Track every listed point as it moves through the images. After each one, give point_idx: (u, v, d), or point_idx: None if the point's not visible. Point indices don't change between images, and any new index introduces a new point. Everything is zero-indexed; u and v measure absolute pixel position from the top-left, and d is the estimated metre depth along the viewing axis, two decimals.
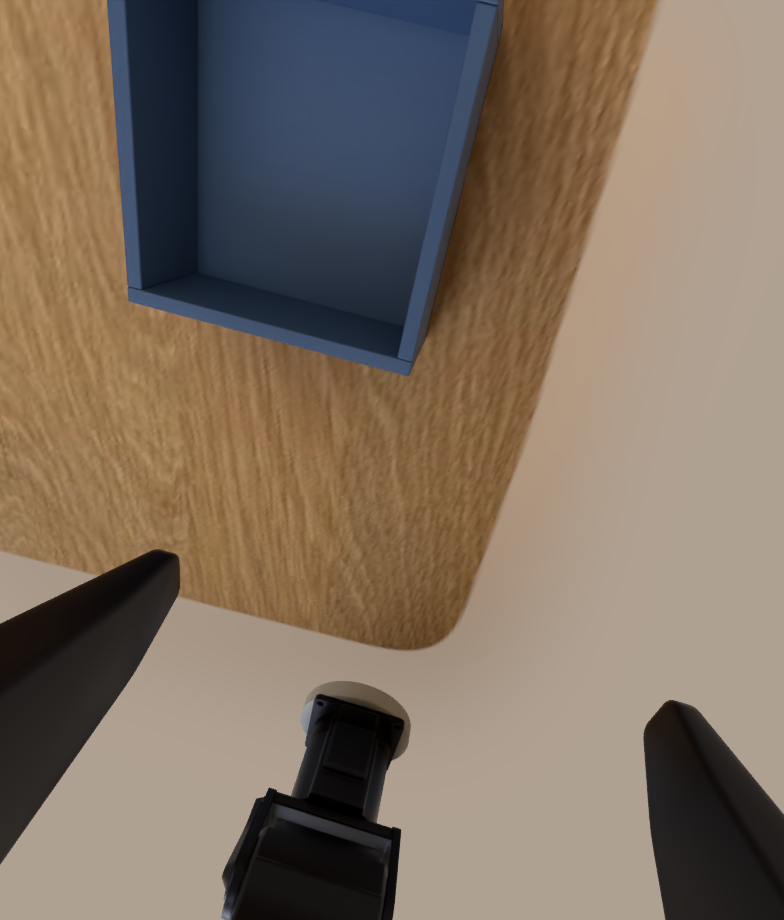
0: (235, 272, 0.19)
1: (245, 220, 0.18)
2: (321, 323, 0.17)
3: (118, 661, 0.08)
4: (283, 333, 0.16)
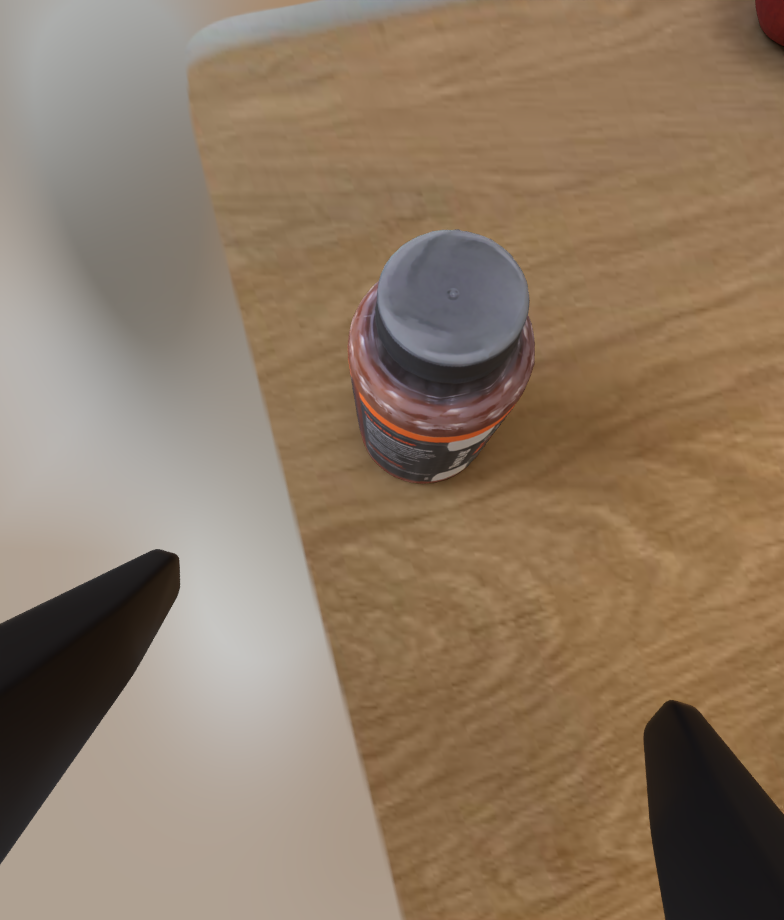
0: None
1: None
2: None
3: (118, 661, 0.08)
4: None
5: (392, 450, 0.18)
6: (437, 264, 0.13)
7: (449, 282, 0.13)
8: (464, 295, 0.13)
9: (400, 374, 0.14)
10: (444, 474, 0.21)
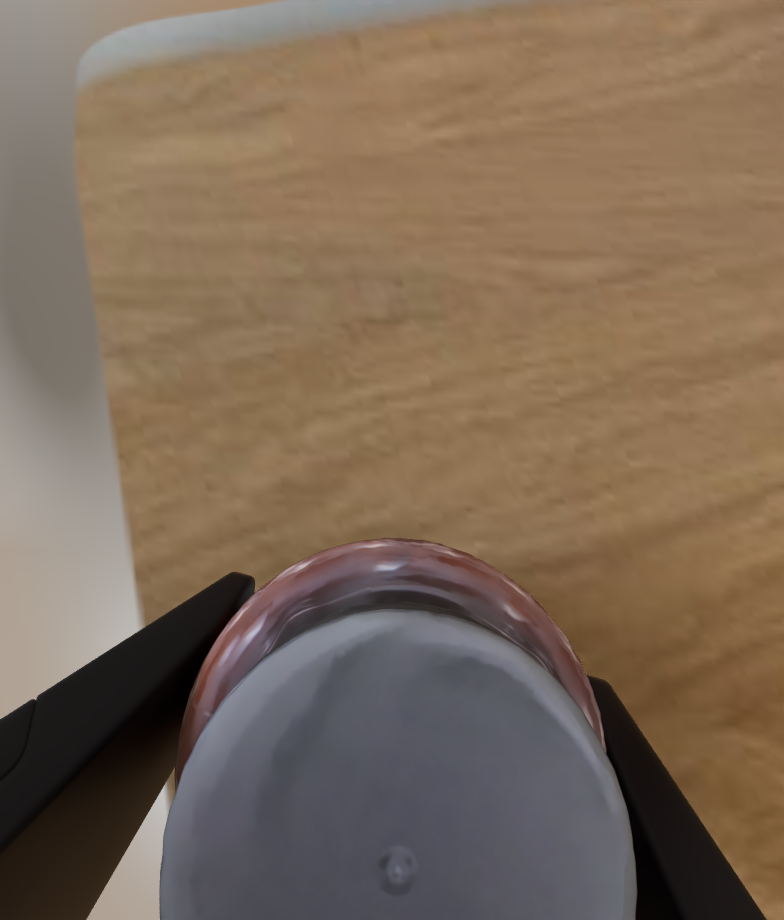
0: None
1: None
2: None
3: None
4: None
5: None
6: (354, 750, 0.04)
7: (388, 825, 0.04)
8: (431, 877, 0.04)
9: None
10: None
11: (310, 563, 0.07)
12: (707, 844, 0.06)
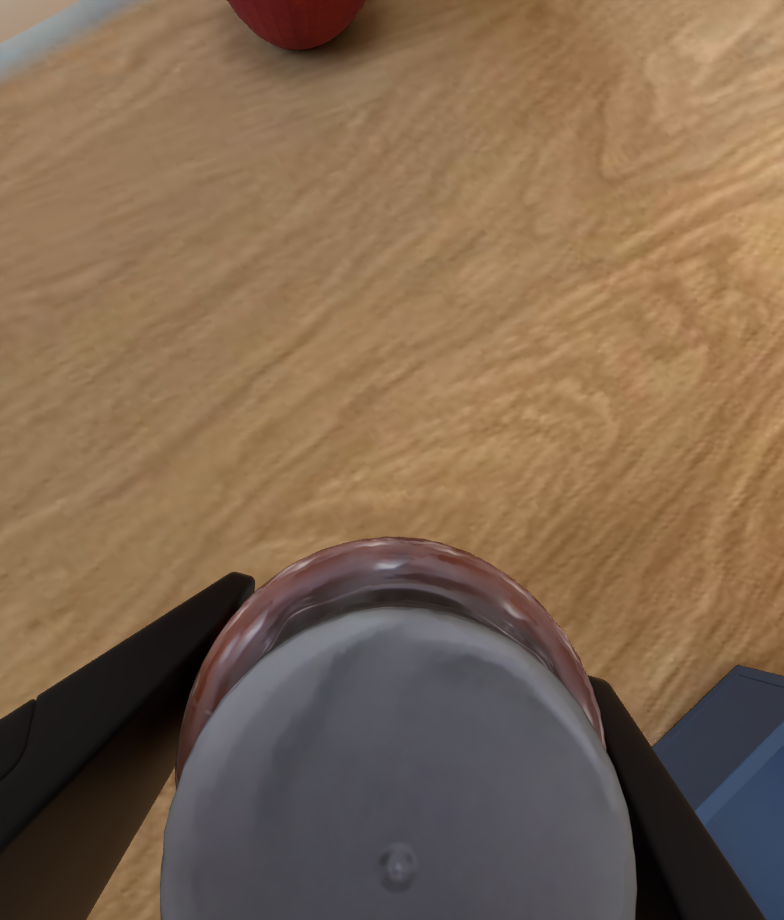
0: None
1: None
2: None
3: None
4: None
5: None
6: (355, 747, 0.04)
7: (388, 822, 0.04)
8: (433, 872, 0.04)
9: None
10: None
11: (310, 561, 0.07)
12: (707, 844, 0.06)
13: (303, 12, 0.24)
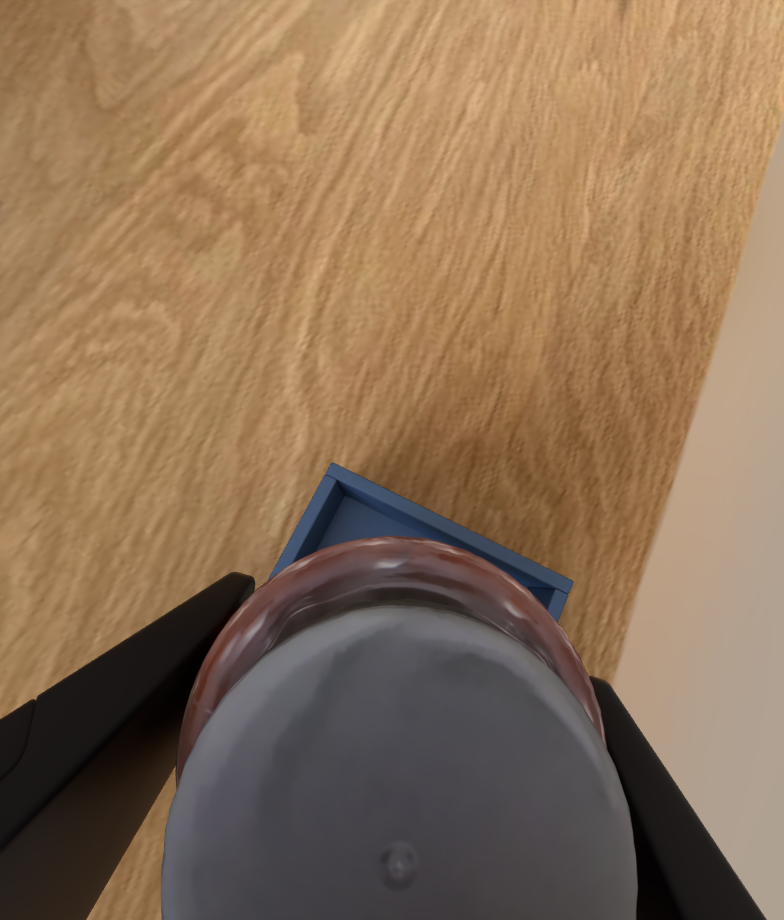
0: None
1: None
2: None
3: None
4: None
5: None
6: (355, 745, 0.04)
7: (389, 820, 0.04)
8: (433, 871, 0.04)
9: None
10: None
11: (311, 560, 0.07)
12: (707, 844, 0.06)
13: None
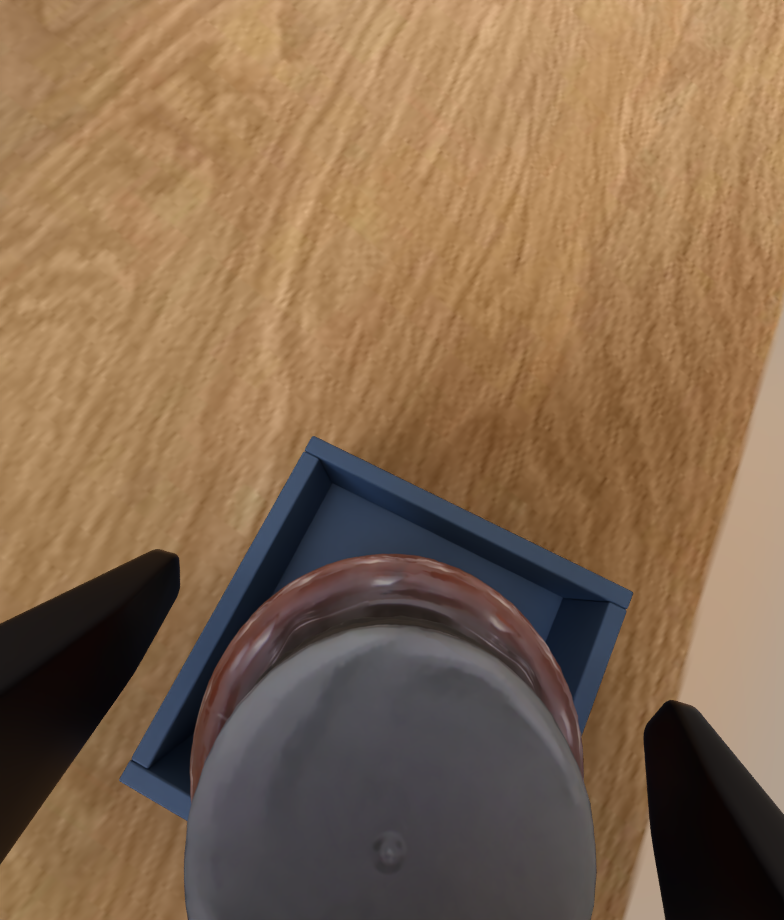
0: None
1: None
2: None
3: (118, 661, 0.08)
4: None
5: None
6: (353, 748, 0.05)
7: (381, 812, 0.05)
8: (418, 858, 0.05)
9: None
10: None
11: (313, 577, 0.08)
12: None
13: None
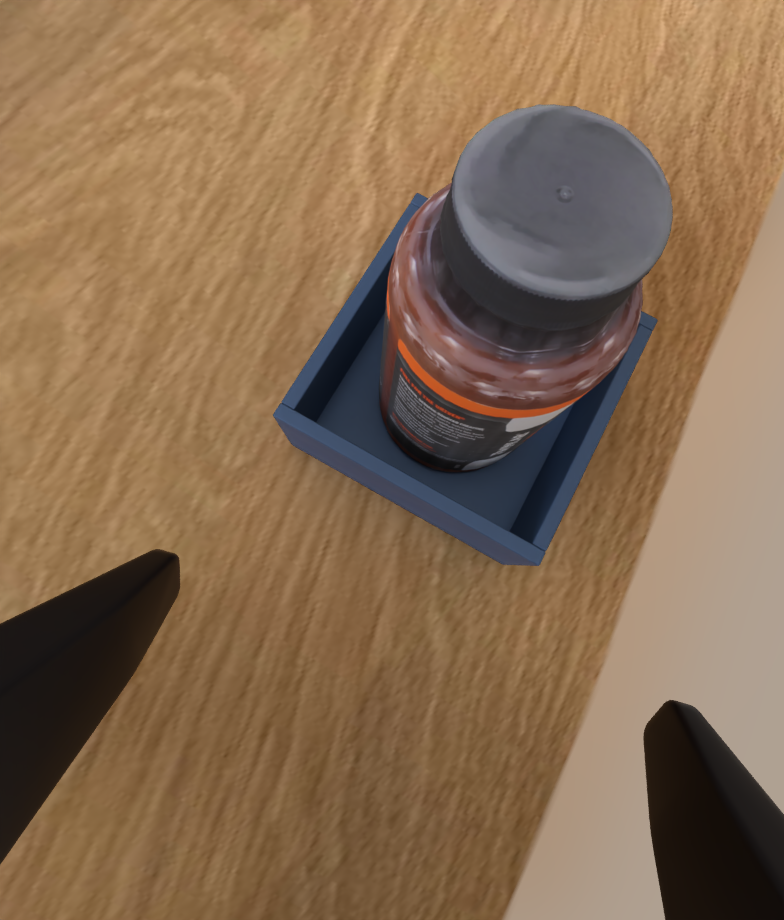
0: None
1: (376, 411, 0.19)
2: None
3: (118, 661, 0.08)
4: (423, 489, 0.15)
5: (426, 425, 0.14)
6: (543, 150, 0.09)
7: (560, 177, 0.09)
8: (580, 197, 0.09)
9: (465, 313, 0.10)
10: (480, 463, 0.17)
11: None
12: None
13: None
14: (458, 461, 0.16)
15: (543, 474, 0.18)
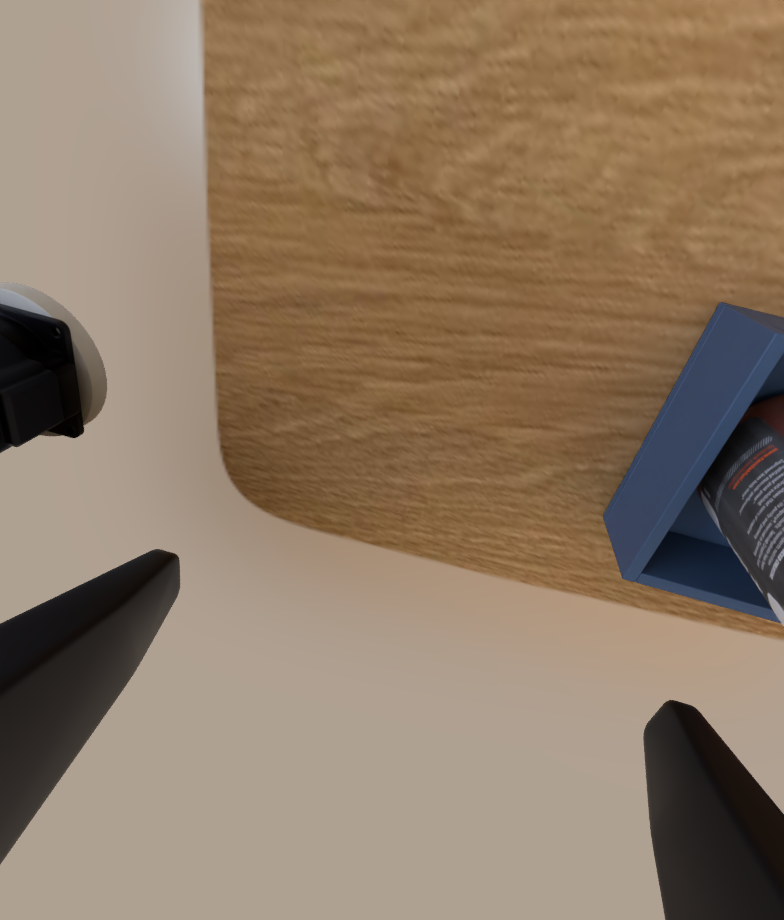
0: None
1: (766, 388, 0.17)
2: None
3: (118, 661, 0.08)
4: (688, 491, 0.16)
5: (768, 509, 0.14)
6: None
7: None
8: None
9: None
10: (712, 515, 0.18)
11: None
12: None
13: None
14: (715, 502, 0.17)
15: (697, 548, 0.20)
